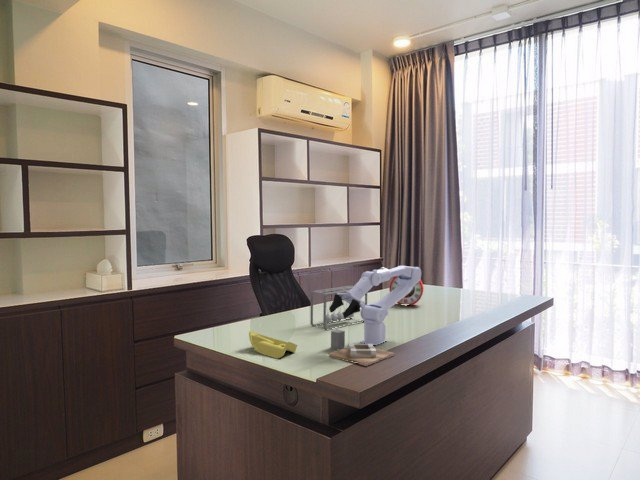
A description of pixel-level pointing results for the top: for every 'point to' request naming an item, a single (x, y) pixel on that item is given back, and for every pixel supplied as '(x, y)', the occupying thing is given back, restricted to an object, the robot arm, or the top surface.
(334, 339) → the grey rectangular block
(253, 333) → the plastic component
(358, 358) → the duct base
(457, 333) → the top surface
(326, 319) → the newton's cradle
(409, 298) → the toy clock
